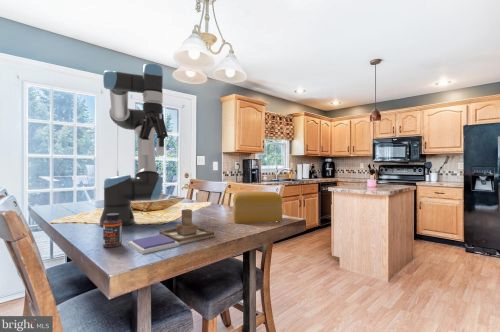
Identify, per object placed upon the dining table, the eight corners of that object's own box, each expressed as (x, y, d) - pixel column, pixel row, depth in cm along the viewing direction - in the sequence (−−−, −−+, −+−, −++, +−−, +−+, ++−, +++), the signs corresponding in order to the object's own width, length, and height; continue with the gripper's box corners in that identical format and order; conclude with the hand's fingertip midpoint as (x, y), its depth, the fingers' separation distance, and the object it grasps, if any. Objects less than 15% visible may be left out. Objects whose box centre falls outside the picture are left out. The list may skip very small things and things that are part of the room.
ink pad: (128, 244, 94) (128, 239, 94) (163, 238, 103) (163, 233, 103) (142, 254, 85) (142, 248, 85) (178, 245, 94) (178, 240, 94)
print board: (159, 235, 107) (159, 231, 107) (193, 229, 118) (193, 225, 118) (178, 244, 95) (178, 239, 95) (214, 236, 106) (214, 231, 106)
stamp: (176, 233, 107) (176, 209, 106) (189, 231, 111) (189, 208, 111) (183, 236, 102) (183, 211, 102) (197, 234, 106) (197, 210, 106)
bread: (234, 223, 129) (234, 193, 129) (232, 218, 142) (232, 190, 142) (282, 222, 133) (282, 193, 133) (276, 217, 146) (276, 190, 145)
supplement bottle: (101, 249, 90) (102, 216, 89) (103, 244, 95) (104, 213, 95) (121, 246, 92) (121, 214, 92) (122, 242, 97) (122, 211, 97)
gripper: (131, 105, 114) (131, 154, 114) (158, 97, 96) (158, 155, 97) (148, 108, 119) (147, 154, 120) (176, 100, 102) (176, 155, 103)
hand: (152, 155), depth 109 cm, fingers open, 13 cm apart
